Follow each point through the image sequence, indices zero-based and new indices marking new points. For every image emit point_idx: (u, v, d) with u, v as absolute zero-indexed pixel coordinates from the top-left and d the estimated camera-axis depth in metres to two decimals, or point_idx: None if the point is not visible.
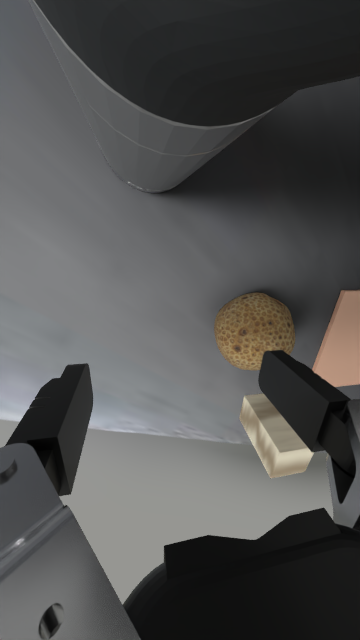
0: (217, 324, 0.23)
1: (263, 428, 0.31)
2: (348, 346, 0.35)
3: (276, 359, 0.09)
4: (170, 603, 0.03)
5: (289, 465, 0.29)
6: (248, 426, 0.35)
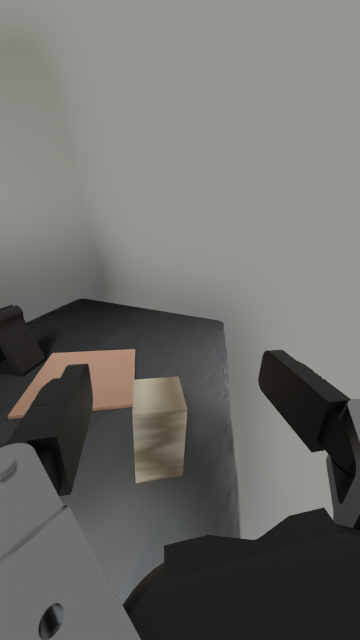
0: None
1: (135, 443, 0.22)
2: None
3: (276, 359, 0.09)
4: (170, 603, 0.03)
5: (162, 395, 0.23)
6: (170, 459, 0.24)
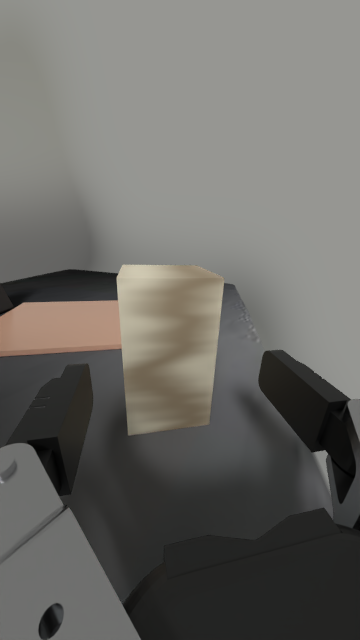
0: None
1: (126, 349, 0.12)
2: (58, 330, 0.27)
3: (276, 359, 0.09)
4: (170, 603, 0.03)
5: (174, 271, 0.13)
6: (188, 391, 0.13)
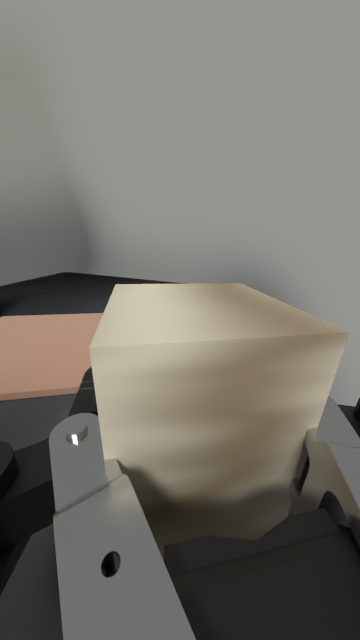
0: None
1: None
2: (35, 360, 0.20)
3: None
4: None
5: (216, 304, 0.06)
6: (241, 533, 0.07)
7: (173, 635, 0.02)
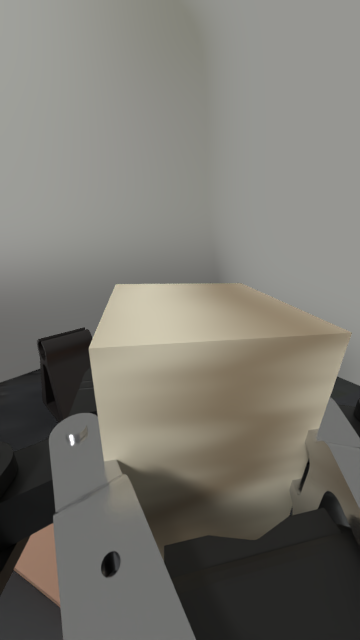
0: None
1: None
2: None
3: None
4: None
5: (217, 304, 0.06)
6: (241, 535, 0.07)
7: (173, 636, 0.02)
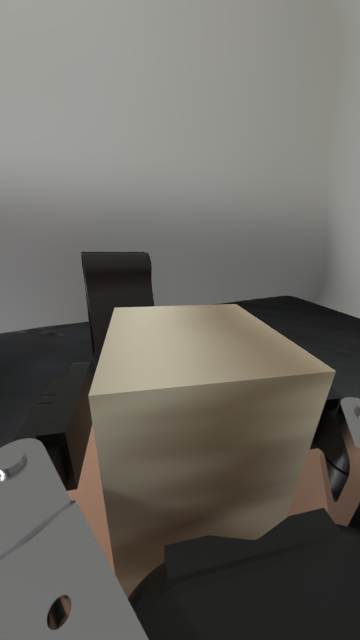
0: None
1: (116, 518, 0.05)
2: None
3: None
4: (170, 603, 0.03)
5: (211, 334, 0.07)
6: None
7: None
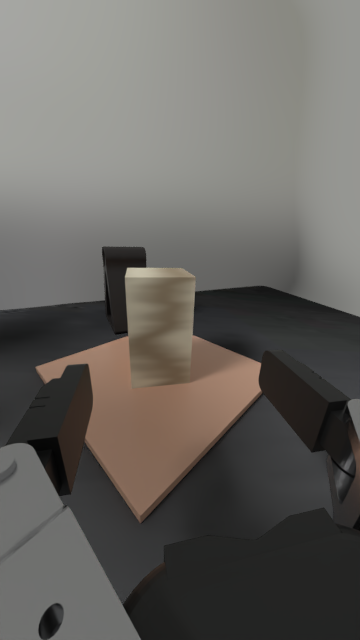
0: None
1: (130, 324, 0.17)
2: (126, 389, 0.19)
3: (276, 359, 0.09)
4: (170, 603, 0.03)
5: (163, 272, 0.19)
6: (174, 356, 0.19)
7: None
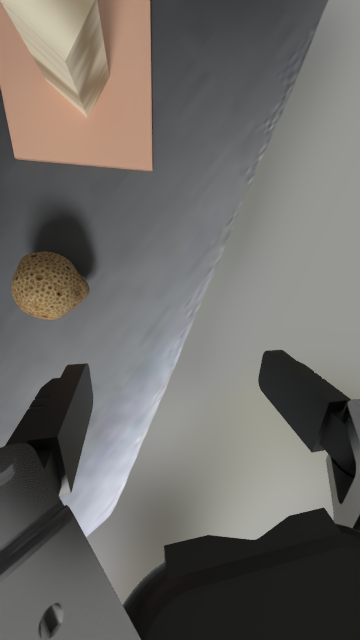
0: None
1: (77, 86, 0.23)
2: (86, 122, 0.28)
3: (276, 359, 0.09)
4: (170, 603, 0.03)
5: None
6: (99, 73, 0.25)
7: None
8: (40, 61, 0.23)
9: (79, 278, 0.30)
